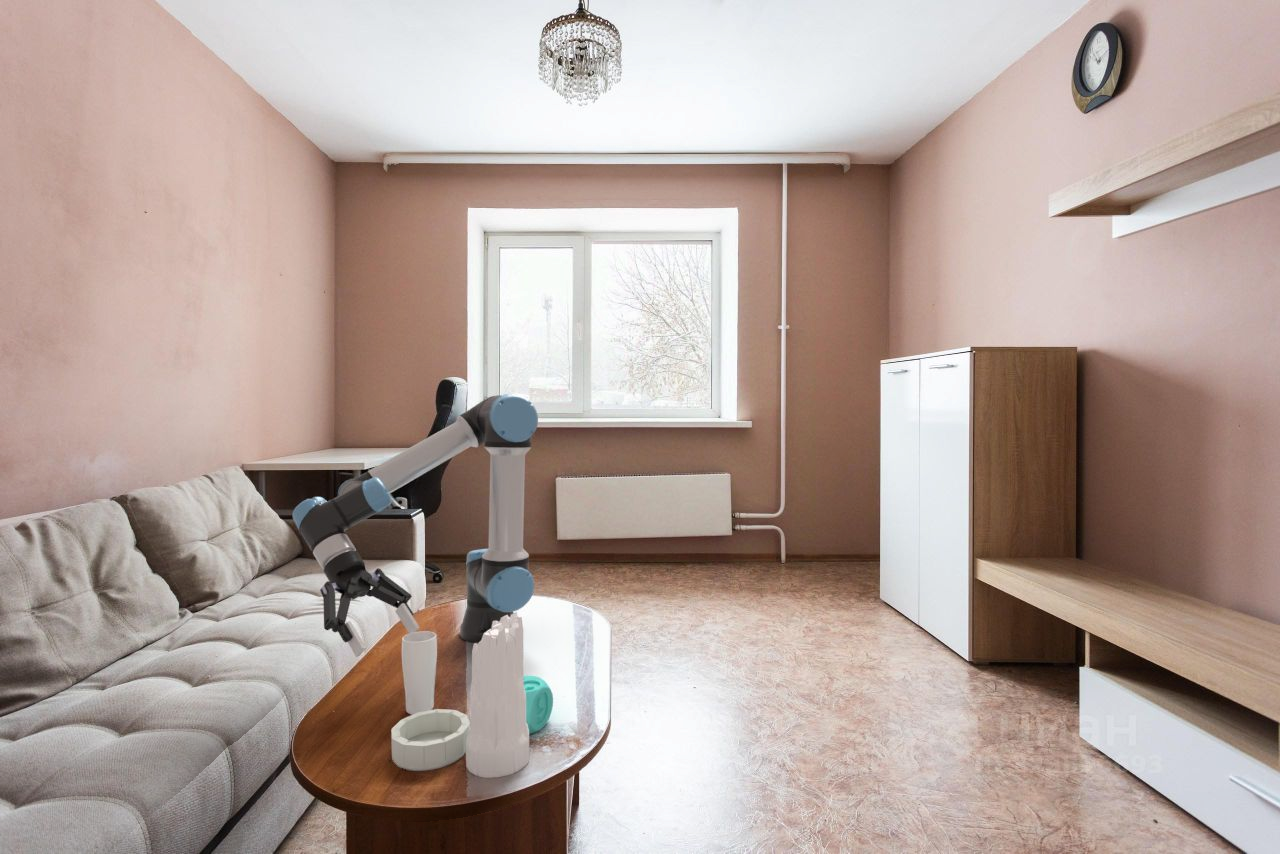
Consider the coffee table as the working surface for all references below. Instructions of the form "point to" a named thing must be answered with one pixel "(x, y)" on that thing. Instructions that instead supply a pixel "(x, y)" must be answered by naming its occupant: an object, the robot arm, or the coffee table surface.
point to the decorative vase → (498, 702)
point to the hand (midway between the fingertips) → (389, 641)
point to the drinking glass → (419, 670)
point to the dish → (429, 739)
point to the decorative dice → (537, 702)
